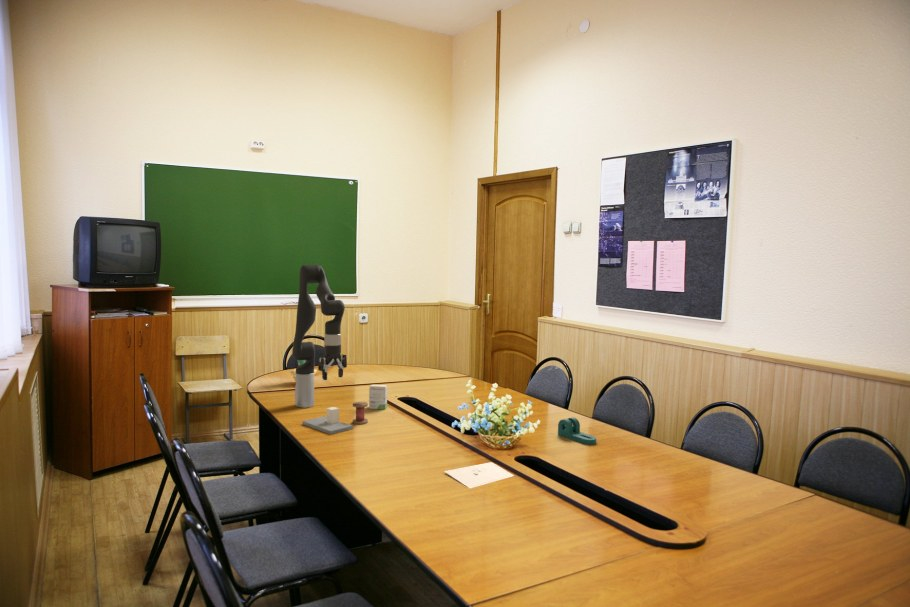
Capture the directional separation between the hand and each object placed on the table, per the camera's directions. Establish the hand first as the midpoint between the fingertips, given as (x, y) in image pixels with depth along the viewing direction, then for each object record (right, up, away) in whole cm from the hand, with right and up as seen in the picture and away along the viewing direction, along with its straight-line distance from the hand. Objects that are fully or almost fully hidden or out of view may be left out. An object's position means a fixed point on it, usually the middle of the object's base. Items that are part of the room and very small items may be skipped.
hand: (332, 378), depth 275 cm
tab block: (0, -22, +2) cm, 22 cm away
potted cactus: (-36, -14, +88) cm, 96 cm away
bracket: (+110, -25, -12) cm, 114 cm away
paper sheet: (+68, -29, -62) cm, 97 cm away
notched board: (-2, -22, 0) cm, 22 cm away
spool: (+11, -22, +7) cm, 25 cm away
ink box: (+17, -20, +34) cm, 42 cm away
